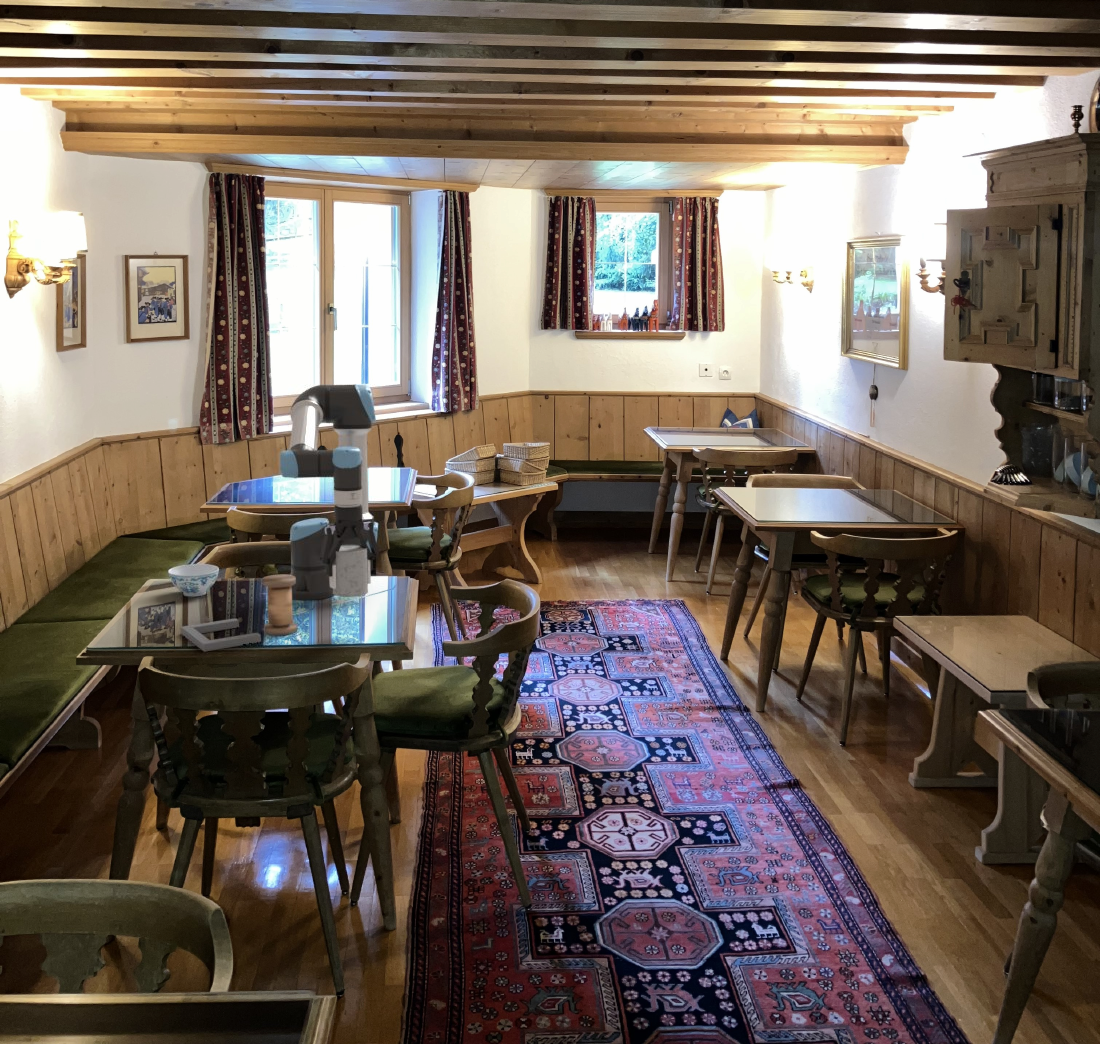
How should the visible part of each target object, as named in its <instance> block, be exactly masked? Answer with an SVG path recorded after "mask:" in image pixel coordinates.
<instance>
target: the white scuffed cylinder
mask: <svg viewBox="0 0 1100 1044" xmlns="http://www.w3.org/2000/svg"><path fill="white" fill-rule="evenodd" d="M333 564H334V565H336V589H333V594H334V595H333V596H337V597H340V598H341V597H343V598H354V597H361V596H364V595H368V593H369V584H368V573H367V547H366V548H362V547H360V546H359V545H341V547H340V549H339V552H337V551H336V558H335V560H334V563H333Z"/></svg>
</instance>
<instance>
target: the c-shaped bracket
mask: <svg viewBox="0 0 1100 1044" xmlns="http://www.w3.org/2000/svg"><path fill="white" fill-rule="evenodd" d="M237 627H238V628H240V619H237V618H236V617H235V618H229V619H222V620H216V621H211V622H204V623H203V622H202V623H197V624H196V623H195V624H191V625H184V626H180V634H181V635H182V636H183V637H184V636H185V638H186V639H187V640H188V639H189V640H188V641H190V642H191V641H192V642H191V643H192V644H193V645H195V646H196V645H197V646H196V647H197V648H198V649H200V650H201V651H203V652H205V653H206V652H209V651H216V650H223V649H226V648H234V647H239V646H244V645H243V644H246V645H250V644H249V643H252V644H257V642H258V643H261V642H262V635H261V634H260V632H252V633H246V634H240V635H234V636H229V637H222V638H215V639H211V640H210V639H209V638H207V637H206V636H205V635H203V634H205V633H212V632H218V631H224V630H230V629H237Z"/></svg>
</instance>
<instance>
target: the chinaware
mask: <svg viewBox="0 0 1100 1044" xmlns="http://www.w3.org/2000/svg"><path fill="white" fill-rule="evenodd" d="M219 570H220V569H219V567H218V566H216V565H213V564H205V563H192V564H183V565H178V566H174V567H172V568H170V569H168V571H167V573H168V577H169V579H170V581H171V583H172V585H173V586H174V587H175V588H176V589H177V590H179V591H180V592H183V596H184V597H193V598H194V597H200V596H204V595H206V594H207V591H208V590H209V589H210V588H211V587H212V586H214V584H215V582H216V581H217V578H218V576H219Z"/></svg>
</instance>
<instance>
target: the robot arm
mask: <svg viewBox="0 0 1100 1044" xmlns="http://www.w3.org/2000/svg"><path fill="white" fill-rule="evenodd" d="M289 417H290V419H291V422H292V425H291V433H290V442H289V448H288V449H287V450H283V451H281V452H280V454H279V469H280V475H281V476H282V477H283V478H291V479H292V478H293V479H301V478H302V479H303V478H304V479H306V478H333V503H334V504H335V505H334V507H333V514H334V523H330V521H329V519H328V518H326V517H315V518H309V519H304V520H300V521H297V522H295V523H293V524H292V525H291V527H290V532H289V534H290V536H289V537H290V538H289V541H290V559H291V561H290V562H291V564H290V565H291V566H290V569H291V570H290V574H289V575H293V576H295V577H296V584H294V585H292V600H293V599H294V600H300V601H301V600H303V601H304V600H305V601H309V600H310V601H311V600H322V599H328V598H330V597H333V596H335V595H334V594H333V589H336V565H334V564H333V563H334V560H335V558H336V551H337V552H339V549H340V547H341V545H359V546H360V547H362V548H366V547H367V573H368V585H369V584H371V583H372V581H371V580H372V579H371V577H372V576H371V571H373V570H374V561H375V559H376V557H380V552H379V547H378V544H377V540H378V531H379V523H378V522H376V521H374V516H373V515H372V514H371V513H370V512H369V481H368V478H369V477H368V433H369V432H370V431H371V430H372V424H376V422H377V417H376V411H375V404H374V398H373V391H372V389H371V387H370V386H369V385H366V384H356V383H355V384H318V385H315V386H312V387H310V388H307V389H306V390H304V391H303V392H302V393H300V394H299V395H298V396H297V397H296V398H295V400H294V401H293V403H292V405H291V408H290V416H289ZM321 424H332V430H333V431H335V433H336V434H337V435H338V436H337V437H338V447H335V448H334V449H324V450H323V449H318V441H319V439H318V438H319V431H320V430H319V427H320V425H321Z"/></svg>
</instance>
